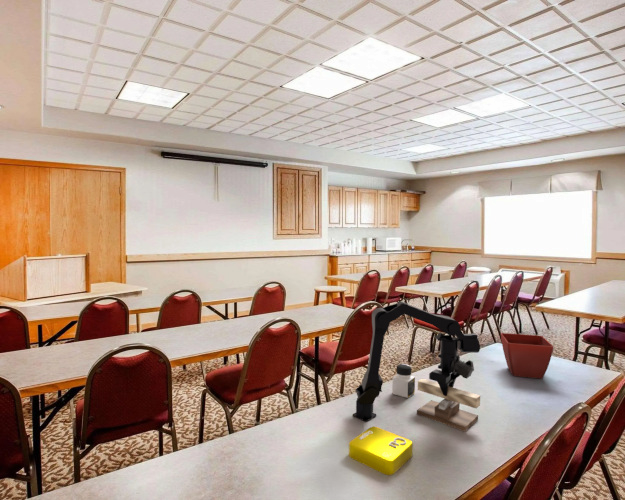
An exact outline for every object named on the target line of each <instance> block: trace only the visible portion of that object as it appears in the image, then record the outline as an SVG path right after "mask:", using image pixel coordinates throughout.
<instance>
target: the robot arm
mask: <svg viewBox="0 0 625 500" xmlns="http://www.w3.org/2000/svg"><path fill="white" fill-rule="evenodd" d="M404 315H406V316H408V317H411V318H413V319H416V320H418V321H421V322H423V323H424V322H425V323H426V324H429V325H432V326H433V327H436V329H438V330H440V331H442V332H443V333H445V334H443V333H442V332H439V333H438V334H437V335H435V336H434V337H435V339H436V340H437V341H440V353H438V356H437V357H438V358H440V360H439V361H440V362H439V364H438V365H437V368H435V369H434V370H432V371H430V372H429V373H428V380H429V381H433V382H436V383H438V384H439V386H440V388H441V390H442V393H443V395H444V396H447V393H448V387H453V388H454V387H455V383H456V380H457V379H458V378H459V377H460V376H461V377H462V378H464V379H468V378H469V377H471V376H472V374H473V372H474V371H475V366H474V361H472V360H470V359H469V360H467V361H464V360H463V361H462V360H461V359H460V358H461V356H460V355H459V354H458V350H459V351H460V352H461V353H463V354H464V353H467V354H468V353H470V354H473V353H475V354H478V353H480V350H481V344H480V341H479V338H478V334H476V333H464V332H463V331H462V329H461V325H460V323H459V322H458V321H457V320H455V319H454V318H452V317H451V316H448V315H442V314H434V313H431V312H429V311H427V310H424V309H421V308H418V307H417V306H414V305H411V304H408V303H406V302H404V301H398V302H396V303H393V304H391V305H386V306H384V307H377V308H375V309H373V311H372V313H371V326H372V335H371V336H372V338H371V342H370V343H371V344H370V351H369V358H368V363H367V369H366V371H365V373H364V374H363V378H362V380H361V384H360V385H359V386H357V388H356V389H355V393H356V396H357V398H356V401H355V410H356V411H355V412H354V413H352V417H355V418H357V419H360V420H362V421H364V422H369V421H370V420H372V419H373V418H376V416H377V413H375V412H374V403H375V400H376V398H378V397H379V395H380V393H382V392H383V391H382V386H383V385H384V384H383V383H384V380H383V378H382V376H381V374H379V373H380V367H381V360H382V353H383V346H384V340H385V334H387V331H388V330H389V328H390V324H391V322H394V321H395V320H397V319H399V318H400V317H402V316H404Z"/></svg>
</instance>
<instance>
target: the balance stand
mask: <svg viewBox="0 0 625 500" xmlns="http://www.w3.org/2000/svg"><path fill="white" fill-rule="evenodd" d="M460 405H461V404H460V403H457V402H454V401H451V400H448V399H444V398H442V400H441V401H435V400H433V399H432V400H430V401H428V402H426V403H425V404H423V405H422V406H420V407H419V408H418V409H416V415H418V416H420V417H423V418H427V419H429V420H431V421H435V422H437V423H441V424H443V425H445V426H449V427H452V428H453V429H457V430H460V431H463V432H467V431H468V429H470V428H471V427H472V426H473V425H474V424H475V423H476V422H477V421H478V420H479V415H478V414H475V413H472V412H469V411H466V410H464V409H463V410H462V409H460Z"/></svg>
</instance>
